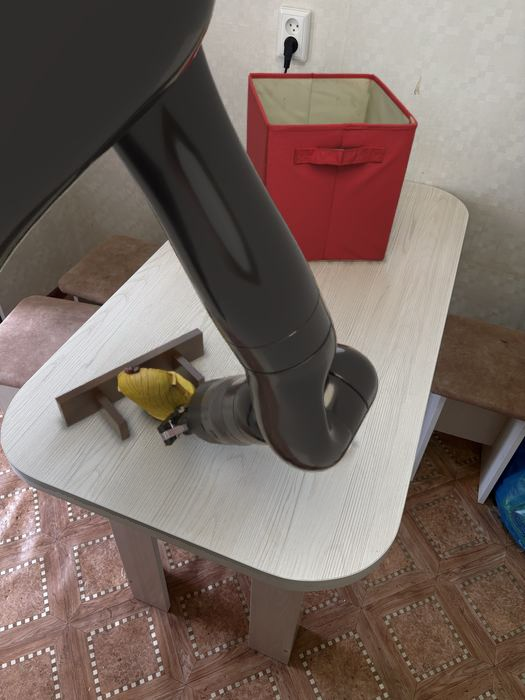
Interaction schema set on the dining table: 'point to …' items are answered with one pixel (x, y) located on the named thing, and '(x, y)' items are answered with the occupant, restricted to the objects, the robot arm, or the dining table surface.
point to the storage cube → (331, 158)
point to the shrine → (155, 390)
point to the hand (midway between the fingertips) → (180, 413)
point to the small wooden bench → (105, 387)
